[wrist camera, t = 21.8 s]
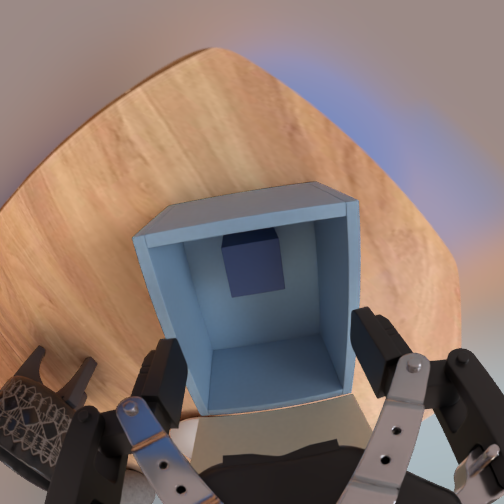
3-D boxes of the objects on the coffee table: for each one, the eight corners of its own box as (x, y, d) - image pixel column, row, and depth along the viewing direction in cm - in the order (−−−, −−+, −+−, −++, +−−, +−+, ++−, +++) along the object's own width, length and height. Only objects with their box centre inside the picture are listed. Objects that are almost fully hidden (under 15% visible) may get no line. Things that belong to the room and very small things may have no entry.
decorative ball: (120, 458, 38) (111, 497, 29) (164, 475, 41) (159, 513, 32) (109, 467, 41) (100, 501, 32) (148, 483, 43) (143, 516, 34)
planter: (64, 318, 26) (-14, 429, 10) (131, 392, 30) (96, 507, 14) (22, 345, 28) (-36, 427, 11) (78, 405, 32) (43, 492, 16)
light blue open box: (168, 205, 23) (131, 237, 14) (316, 181, 22) (359, 200, 14) (208, 351, 28) (200, 416, 20) (325, 332, 28) (351, 392, 20)
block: (223, 231, 23) (220, 247, 19) (272, 222, 23) (278, 237, 19) (232, 275, 24) (231, 298, 20) (278, 267, 24) (285, 289, 20)
